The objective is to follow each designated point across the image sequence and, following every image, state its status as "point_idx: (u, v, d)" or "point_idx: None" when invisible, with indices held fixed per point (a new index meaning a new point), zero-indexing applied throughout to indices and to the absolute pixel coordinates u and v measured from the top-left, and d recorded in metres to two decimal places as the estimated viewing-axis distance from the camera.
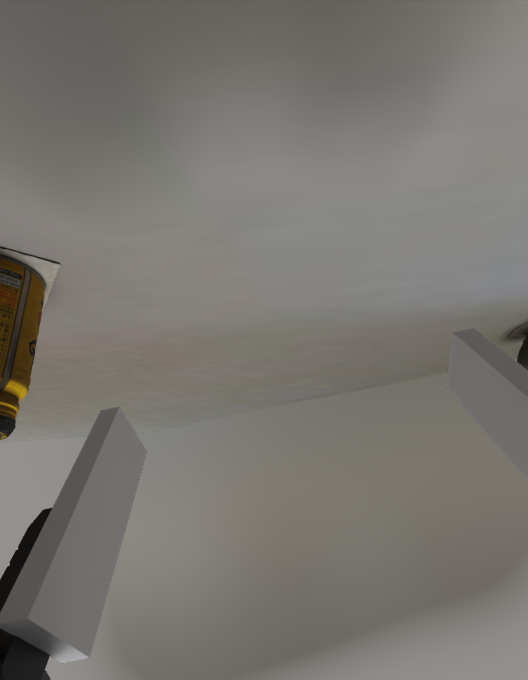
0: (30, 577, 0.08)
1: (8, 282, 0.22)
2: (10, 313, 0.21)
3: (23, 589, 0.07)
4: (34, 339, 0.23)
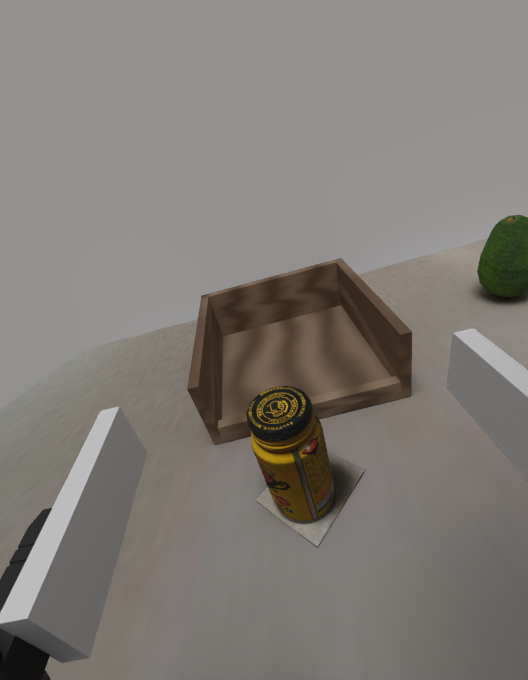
0: (30, 577, 0.08)
1: (322, 502, 0.28)
2: (314, 490, 0.27)
3: (23, 589, 0.07)
4: (284, 490, 0.26)
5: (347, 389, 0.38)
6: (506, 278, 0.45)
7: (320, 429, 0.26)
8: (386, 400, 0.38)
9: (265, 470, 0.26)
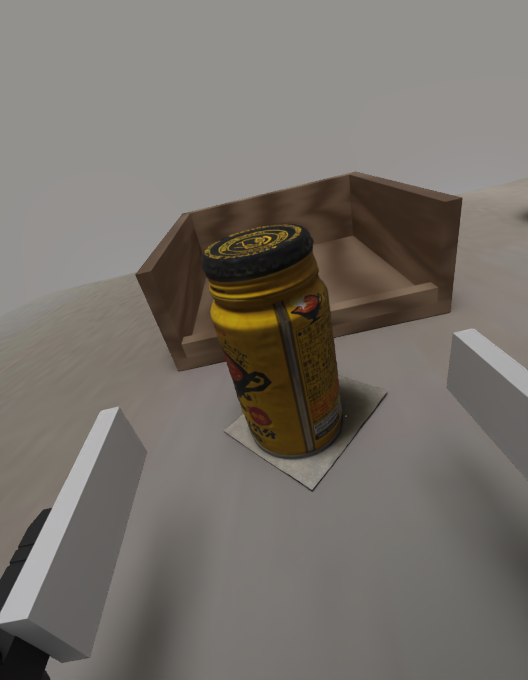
0: (30, 577, 0.08)
1: (323, 422, 0.17)
2: (310, 395, 0.16)
3: (23, 589, 0.07)
4: (261, 391, 0.16)
5: (362, 298, 0.27)
6: None
7: (325, 288, 0.15)
8: (415, 316, 0.27)
9: (231, 354, 0.16)
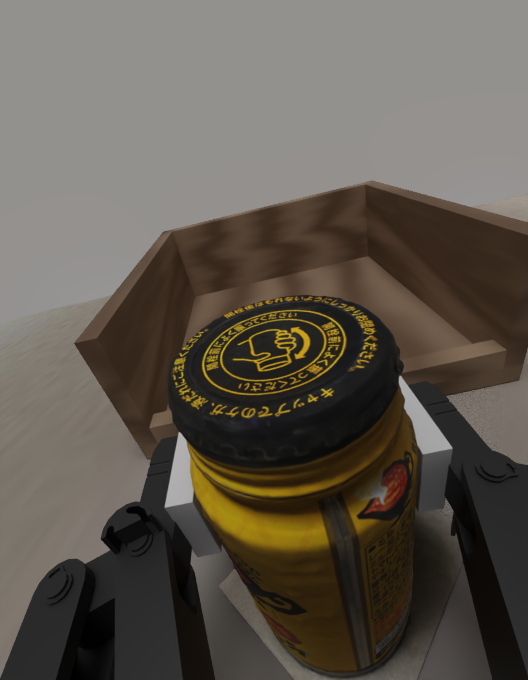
0: (181, 476, 0.09)
1: (391, 634, 0.10)
2: (376, 616, 0.09)
3: (179, 484, 0.09)
4: (285, 614, 0.08)
5: None
6: None
7: (411, 428, 0.08)
8: (472, 386, 0.20)
9: (228, 551, 0.08)
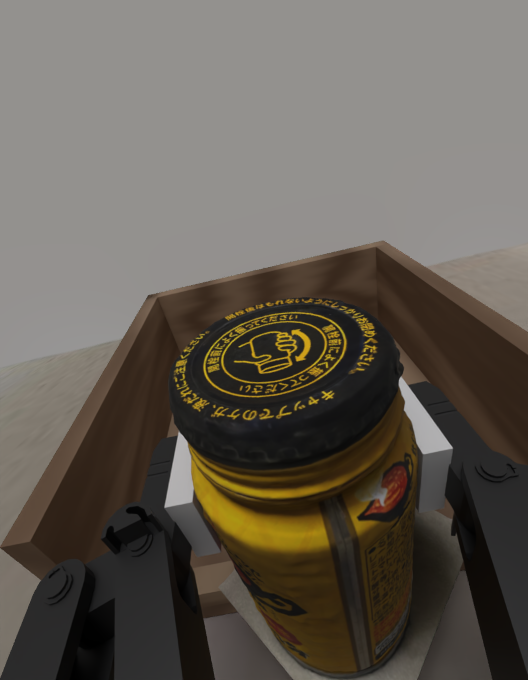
0: (181, 476, 0.09)
1: (390, 635, 0.10)
2: (376, 617, 0.09)
3: (179, 484, 0.09)
4: (286, 615, 0.08)
5: None
6: None
7: (411, 430, 0.08)
8: None
9: (228, 552, 0.08)
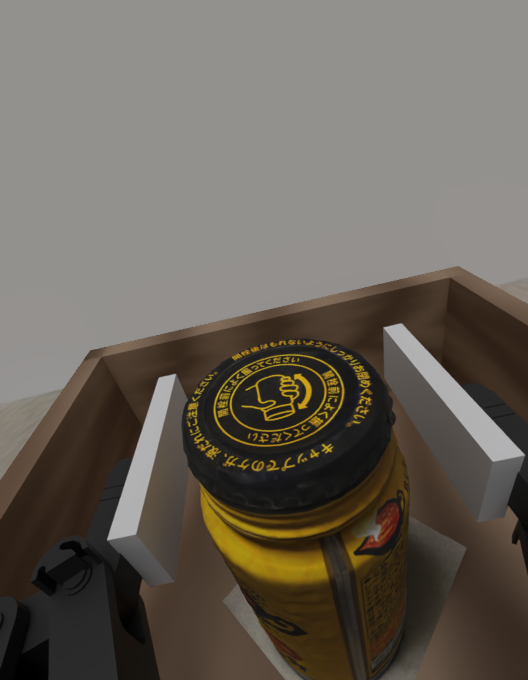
0: (129, 505, 0.09)
1: (385, 650, 0.11)
2: (372, 636, 0.09)
3: (125, 514, 0.08)
4: (288, 635, 0.09)
5: None
6: None
7: (403, 466, 0.09)
8: None
9: (235, 577, 0.09)
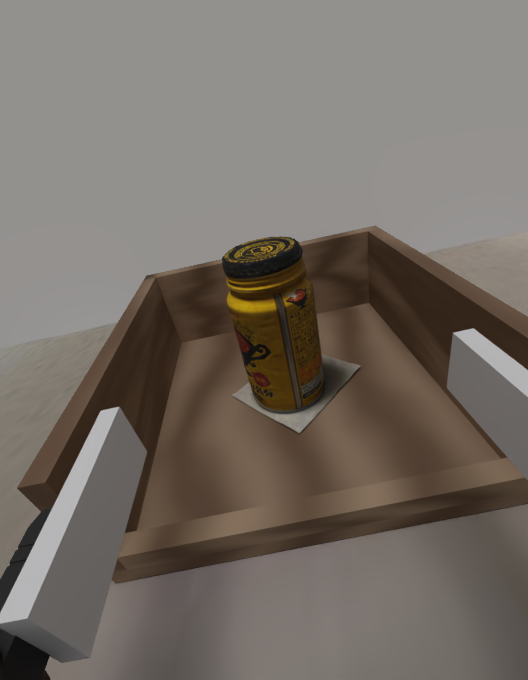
0: (30, 577, 0.08)
1: (308, 385, 0.23)
2: (299, 363, 0.22)
3: (23, 589, 0.07)
4: (263, 359, 0.22)
5: (409, 481, 0.17)
6: None
7: (310, 284, 0.21)
8: (492, 507, 0.17)
9: (241, 332, 0.22)
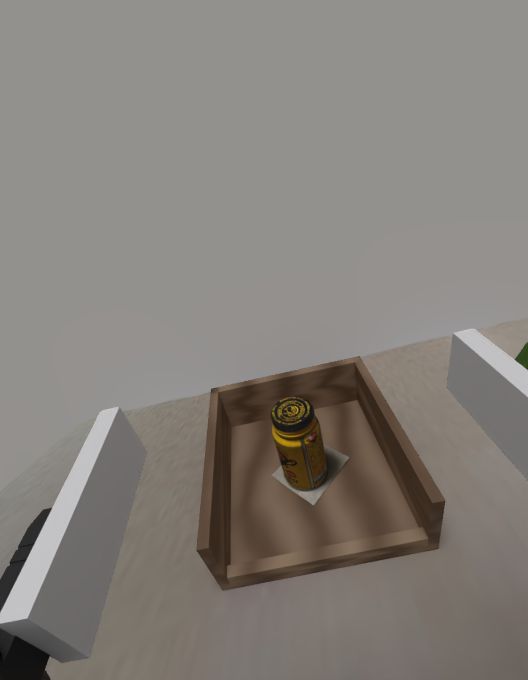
0: (30, 577, 0.08)
1: (318, 476, 0.41)
2: (312, 467, 0.40)
3: (23, 589, 0.07)
4: (293, 466, 0.40)
5: (369, 540, 0.35)
6: None
7: (318, 426, 0.39)
8: (411, 552, 0.35)
9: (281, 451, 0.39)
